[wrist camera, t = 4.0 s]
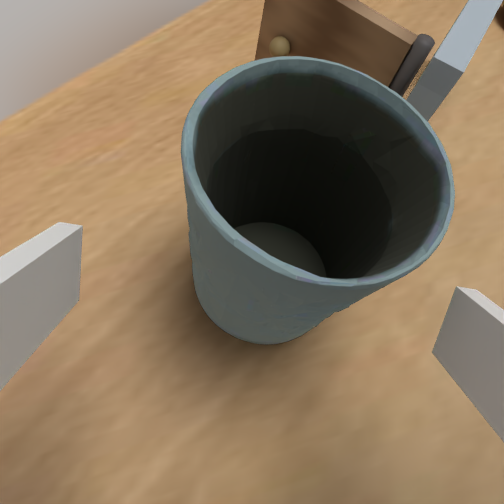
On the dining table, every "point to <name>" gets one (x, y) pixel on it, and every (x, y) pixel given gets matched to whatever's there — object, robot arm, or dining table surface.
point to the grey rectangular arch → (452, 56)
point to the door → (343, 38)
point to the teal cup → (306, 194)
